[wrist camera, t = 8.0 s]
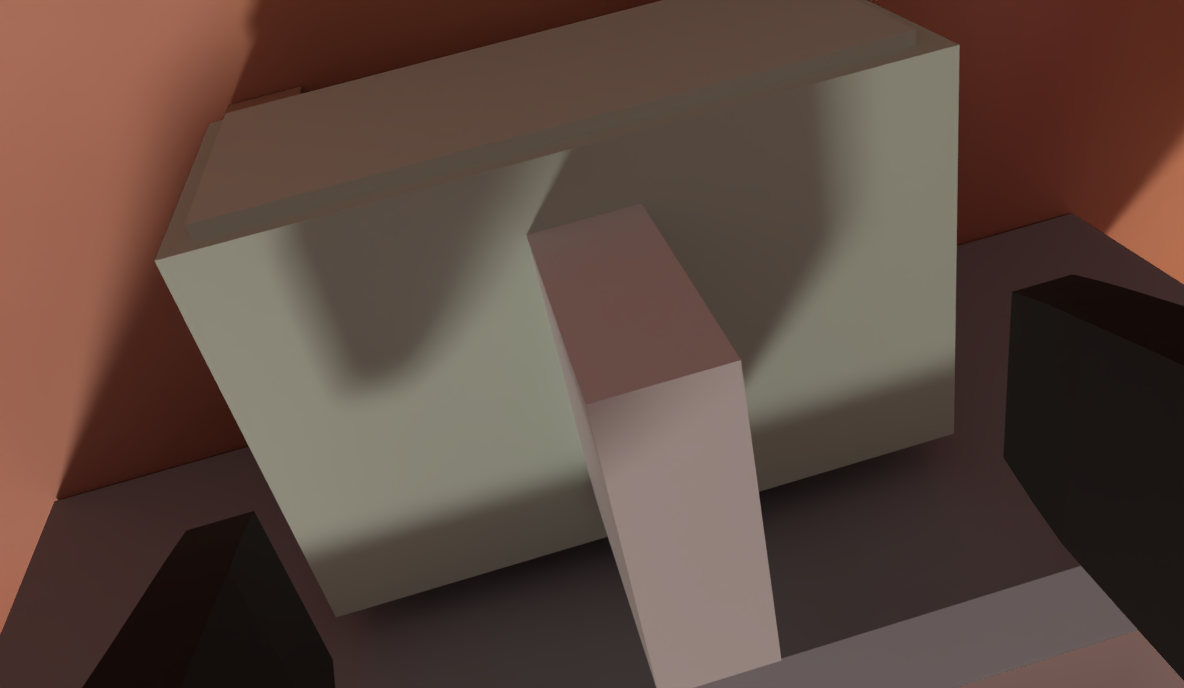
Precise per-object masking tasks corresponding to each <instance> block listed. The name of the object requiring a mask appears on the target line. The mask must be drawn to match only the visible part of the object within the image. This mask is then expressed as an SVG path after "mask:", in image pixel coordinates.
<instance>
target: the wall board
mask: <svg viewBox="0 0 1184 688" xmlns="http://www.w3.org/2000/svg"><path fill="white" fill-rule="evenodd" d="M1072 274H1073V275H1078V276H1082V277H1086V278H1090V279H1094V280H1099V281H1102V282H1106V283H1110V284H1113V285H1117V286H1120V287H1124V288H1127V289H1130V290H1134V291H1137V292H1140V293H1144V294H1147V295H1150V296H1153V297H1157V298H1160V299H1163V300H1166V301H1170V302H1173V303H1176V304H1179V305H1182V306H1184V285H1183V284H1182V283H1180V282H1179V281H1177V280H1176V279H1174V278H1173V277H1171V276H1169V275H1168V274H1166V273H1165V272H1163V271H1162V270H1160V269H1159V268H1157V267H1155V266H1154V265H1152V264H1151V263H1149V262H1148V261H1146V260H1144V259H1143V258H1141V257H1140V256H1138V255H1137V254H1135V253H1134V252H1132V251H1130V250H1129V249H1127V248H1126V247H1124V246H1123V245H1121V244H1120V243H1118V242H1116V241H1115V240H1113V239H1112V238H1110V237H1109V236H1107V235H1105V234H1104V233H1102V232H1101V231H1099V230H1098V229H1096V228H1095V227H1093V226H1091V225H1090V224H1088V223H1087V222H1085V221H1084V220H1082V219H1081V218H1079V217H1077V216H1076V215H1074V214H1073V213H1072V214H1068V215H1065V216H1061V217H1058V218H1054V219H1051V220H1047V221H1044V222H1040V223H1037V224H1033V225H1030V226H1026V227H1022V228H1019V229H1015V230H1012V231H1008V232H1005V233H1001V234H998V235H994V236H991V237H987V238H984V239H980V240H977V241H973V242H970V243H966V244H962V245H959V246H957V258H956V328H955V398H954V434H951V435H948V436H944V437H941V438H938V439H934V440H931V441H928V442H924V443H921V444H918V445H914V446H911V447H907V448H904V449H901V450H897V451H894V452H891V453H887V454H884V455H881V456H877V457H874V458H871V459H867V460H864V461H860V462H857V463H854V464H850V465H847V466H844V467H840V468H837V469H834V470H830V471H827V472H823V473H820V474H817V475H813V476H810V477H807V478H803V479H800V480H797V481H793V482H790V483H786V484H783V485H780V486H776V487H773V488H770V489H766V490H763V491H760V492H759V498H760V505H761V512H762V520H763V527H764V535H765V542H766V549H767V557H768V564H769V572H770V579H771V587H772V594H773V601H774V609H775V616H776V624H777V631H778V638H779V646H780V653H781V661H778V662H775V663H772V664H768V665H765V666H762V667H759V668H756V669H752V670H749V671H746V672H743V673H739V674H736V675H733V676H730V677H727V678H723V679H720V680H717V681H714V682H710V683H707V684H704V685H701V686H698V687H694V688H957V687H960V686H963V685H966V684H970V683H973V682H976V681H979V680H982V679H985V678H989V677H992V676H995V675H998V674H1001V673H1004V672H1008V671H1011V670H1014V669H1017V668H1020V667H1023V666H1027V665H1030V664H1033V663H1036V662H1039V661H1042V660H1045V659H1049V658H1052V657H1055V656H1058V655H1061V654H1064V653H1068V652H1071V651H1074V650H1077V649H1080V648H1083V647H1087V646H1090V645H1093V644H1096V643H1099V642H1102V641H1106V640H1109V639H1112V638H1115V637H1118V636H1121V635H1125V634H1128V633H1131V632H1134V631H1137V630H1138V629H1137V628H1136V627H1135V626H1134V625H1133V624H1132V623H1131V621H1130V620H1129V619H1128V618H1127V617H1126V616H1125V615H1124V614H1123V613H1122V611H1121V610H1120V609H1119V608H1118V607H1117V606H1116V605H1115V604H1114V602H1113V601H1112V600H1111V599H1110V598H1109V597H1108V596H1107V595H1106V593H1105V592H1104V591H1103V590H1102V589H1101V588H1100V587H1099V586H1098V584H1097V583H1096V582H1095V581H1094V580H1093V579H1092V578H1091V576H1090V575H1089V574H1088V573H1087V572H1086V571H1085V570H1084V569H1083V567H1082V566H1081V565H1080V564H1079V563H1078V562H1077V561H1076V559H1075V558H1074V557H1073V556H1072V555H1071V554H1070V552H1069V551H1068V550H1067V549H1066V548H1065V547H1064V545H1063V544H1062V543H1061V542H1060V540H1059V539H1058V538H1057V536H1056V535H1055V533H1054V532H1053V530H1052V529H1051V528H1050V526H1049V525H1048V523H1047V522H1046V521H1045V519H1044V518H1043V516H1042V515H1041V513H1040V512H1039V511H1038V509H1037V508H1036V506H1035V505H1034V504H1033V502H1032V500H1031V499H1030V497H1029V496H1028V494H1027V493H1026V491H1025V490H1024V488H1023V487H1022V485H1021V484H1020V482H1019V481H1018V479H1017V478H1016V476H1015V474H1014V473H1013V471H1012V470H1011V468H1010V467H1009V465H1008V464H1007V462H1006V461H1005V459H1004V458H1003V454H1004V435H1005V415H1006V396H1007V376H1008V357H1009V338H1010V318H1011V299H1012V292H1013V291H1016V290H1020V289H1023V288H1027V287H1030V286H1034V285H1037V284H1040V283H1044V282H1047V281H1051V280H1054V279H1058V278H1061V277H1065V276H1068V275H1072ZM252 511H254V512H255V514H256V515H257V517H258V519H259V521H260V523H261V525H262V527H263V529H264V531H265V532H266V534H267V536H268V538H269V540H270V542H271V544H272V546H273V548H274V549H275V551H276V553H277V555H278V557H279V559H280V561H281V563H282V565H283V566H284V568H285V570H286V572H287V574H288V576H289V578H290V580H291V582H292V583H293V585H294V587H295V589H296V591H297V593H298V595H299V597H300V599H301V600H302V602H303V604H304V606H305V608H306V610H307V612H308V614H309V616H310V617H311V619H312V621H313V623H314V625H315V627H316V629H317V631H318V632H319V634H320V636H321V638H322V640H323V642H324V644H325V646H326V648H327V649H328V651H329V653H330V655H331V657H332V659H333V667H334V678H335V688H656V685H655V682H654V679H653V676H652V673H651V670H650V667H649V664H648V661H647V657H646V654H645V651H644V648H643V645H642V642H641V639H640V636H639V632H638V629H637V626H636V623H635V620H634V617H633V614H632V611H631V607H630V604H629V601H628V598H627V595H626V592H625V589H624V586H623V582H622V579H621V576H620V573H619V570H618V567H617V564H616V561H615V558H614V554H613V551H612V548H611V545H610V542H609V539H608V537H605V538H602V539H598V540H595V541H591V542H588V543H585V544H581V545H578V546H575V547H571V548H568V549H565V550H561V551H558V552H554V553H551V554H548V555H544V556H541V557H538V558H534V559H531V560H528V561H524V562H521V563H517V564H514V565H511V566H507V567H504V568H501V569H497V570H494V571H491V572H487V573H484V574H481V575H477V576H474V577H470V578H467V579H464V580H460V581H457V582H454V583H450V584H447V585H444V586H440V587H437V588H433V589H430V590H427V591H423V592H420V593H417V594H413V595H410V596H407V597H403V598H400V599H396V600H393V601H390V602H386V603H383V604H380V605H376V606H373V607H370V608H366V609H363V610H359V611H356V612H353V613H349V614H346V615H343V616H339V617H335V615H334V613H333V611H332V609H331V607H330V605H329V603H328V601H327V599H326V597H325V595H324V593H323V591H322V589H321V587H320V585H319V583H318V581H317V579H316V577H315V575H314V573H313V571H312V569H311V567H310V566H309V564H308V562H307V560H306V558H305V556H304V554H303V552H302V550H301V548H300V546H299V544H298V542H297V540H296V538H295V536H294V534H293V532H292V530H291V528H290V526H289V524H288V522H287V520H286V518H285V516H284V514H283V512H282V511H281V509H280V507H279V505H278V503H277V501H276V499H275V497H274V495H273V493H272V491H271V489H270V487H269V485H268V483H267V481H266V479H265V477H264V475H263V473H262V471H261V469H260V467H259V465H258V463H257V461H256V459H255V457H254V455H253V454H252V452H251V450H250V448H249V447H245V448H242V449H238V450H235V451H231V452H228V453H224V454H221V455H217V456H214V457H210V458H207V459H203V460H200V461H196V462H192V463H189V464H185V465H182V466H178V467H175V468H171V469H168V470H164V471H161V472H157V473H154V474H150V475H147V476H143V477H139V478H136V479H132V480H129V481H125V482H122V483H118V484H115V485H111V486H108V487H104V488H101V489H97V490H94V491H90V492H86V493H83V494H79V495H76V496H72V497H69V498H65V499H62V500H58V501H55V502H54V504H53V507H52V509H51V511H50V514H49V516H48V519H47V521H46V524H45V526H44V529H43V531H42V534H41V536H40V539H39V541H38V544H37V546H36V548H35V551H34V553H33V556H32V558H31V561H30V563H29V566H28V568H27V571H26V573H25V576H24V578H23V580H22V583H21V585H20V588H19V590H18V593H17V595H16V598H15V600H14V603H13V605H12V608H11V610H10V613H9V615H8V617H7V620H6V622H5V625H4V627H3V630H2V632H1V635H0V688H82V687H83V686H84V684H85V683H86V681H87V680H88V678H89V677H90V675H91V674H92V672H93V671H94V669H95V668H96V666H97V665H98V663H99V662H100V660H101V659H102V657H103V656H104V654H105V653H106V651H107V650H108V648H109V647H110V645H111V644H112V642H113V640H114V639H115V637H116V636H117V634H118V633H119V631H120V630H121V628H122V627H123V625H124V624H125V622H126V620H127V619H128V617H129V616H130V614H131V613H132V611H133V610H134V608H135V607H136V605H137V603H138V602H139V600H140V599H141V597H142V596H143V594H144V593H145V591H146V590H147V588H148V586H149V585H150V583H151V582H152V580H153V579H154V577H155V576H156V574H157V573H158V571H159V570H160V568H161V567H162V565H163V563H164V562H165V560H166V559H167V557H168V556H169V555H170V553H171V552H172V550H173V549H174V547H175V546H176V544H177V543H178V541H179V540H180V539H181V537H182V536H183V534H184V533H185V532H186V530H189V529H193V528H196V527H200V526H203V525H207V524H210V523H214V522H217V521H221V520H224V519H227V518H231V517H234V516H238V515H241V514H245V513H248V512H252Z"/></svg>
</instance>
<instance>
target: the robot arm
mask: <svg viewBox="0 0 1184 688" xmlns="http://www.w3.org/2000/svg"><path fill="white" fill-rule="evenodd" d="M1003 458H1004V459H1005V461H1006V462H1007V464H1008V465H1009V467H1010V468H1011V470H1012V471H1013V473H1014V474H1015V476H1016V478H1017V479H1018V481H1019V482H1020V484H1021V485H1022V487H1023V488H1024V490H1025V491H1026V493H1027V494H1028V496H1029V497H1030V499H1031V500H1032V502H1033V504H1034V505H1035V506H1036V508H1037V509H1038V511H1039V512H1040V513H1041V515H1042V516H1043V518H1044V519H1045V521H1046V522H1047V523H1048V525H1049V526H1050V528H1051V529H1052V530H1053V532H1054V533H1055V535H1056V536H1057V538H1058V539H1059V540H1060V542H1061V543H1062V544H1063V545H1064V547H1065V548H1066V549H1067V550H1068V551H1069V552H1070V554H1071V555H1072V556H1073V557H1074V558H1075V559H1076V561H1077V562H1078V563H1079V564H1080V565H1081V566H1082V567H1083V569H1084V570H1085V571H1086V572H1087V573H1088V574H1089V575H1090V576H1091V578H1092V579H1093V580H1094V581H1095V582H1096V583H1097V584H1098V586H1099V587H1100V588H1101V589H1102V590H1103V591H1104V592H1105V593H1106V595H1107V596H1108V597H1109V598H1110V599H1111V600H1112V601H1113V602H1114V604H1115V605H1116V606H1117V607H1118V608H1119V609H1120V610H1121V611H1122V613H1123V614H1124V615H1125V616H1126V617H1127V618H1128V619H1129V620H1130V621H1131V623H1132V624H1133V625H1134V626H1135V627H1136V628H1137V629H1138V630H1139V631H1140V632H1141V634H1142V635H1143V636H1144V637H1145V638H1146V639H1147V640H1148V641H1149V642H1150V644H1151V645H1152V646H1153V647H1154V648H1155V649H1156V650H1157V651H1158V652H1159V653H1160V655H1161V656H1162V657H1163V658H1164V659H1165V660H1166V661H1167V662H1168V664H1169V665H1170V666H1171V667H1172V668H1173V669H1174V670H1175V671H1176V672H1177V674H1178V675H1179V676H1180V677H1181V678H1182V679H1183V680H1184V306H1182V305H1179V304H1176V303H1173V302H1170V301H1166V300H1163V299H1160V298H1157V297H1153V296H1150V295H1147V294H1144V293H1140V292H1137V291H1134V290H1130V289H1127V288H1124V287H1120V286H1117V285H1113V284H1110V283H1106V282H1102V281H1099V280H1094V279H1090V278H1086V277H1082V276H1078V275H1073V274H1072V275H1068V276H1065V277H1061V278H1058V279H1054V280H1051V281H1047V282H1044V283H1040V284H1037V285H1034V286H1030V287H1027V288H1023V289H1020V290H1016V291H1013V292H1012V299H1011V318H1010V338H1009V357H1008V376H1007V396H1006V415H1005V435H1004V454H1003ZM82 688H335V678H334V667H333V659H332V657H331V655H330V653H329V651H328V649H327V648H326V646H325V644H324V642H323V640H322V638H321V636H320V634H319V632H318V631H317V629H316V627H315V625H314V623H313V621H312V619H311V617H310V616H309V614H308V612H307V610H306V608H305V606H304V604H303V602H302V600H301V599H300V597H299V595H298V593H297V591H296V589H295V587H294V585H293V583H292V582H291V580H290V578H289V576H288V574H287V572H286V570H285V568H284V566H283V565H282V563H281V561H280V559H279V557H278V555H277V553H276V551H275V549H274V548H273V546H272V544H271V542H270V540H269V538H268V536H267V534H266V532H265V531H264V529H263V527H262V525H261V523H260V521H259V519H258V517H257V515H256V514H255V512H254V511H252V512H248V513H245V514H241V515H238V516H234V517H231V518H227V519H224V520H221V521H217V522H214V523H210V524H207V525H203V526H200V527H196V528H193V529H189V530H186V532H185V533H184V534H183V536H182V537H181V539H180V540H179V541H178V543H177V544H176V546H175V547H174V549H173V550H172V552H171V553H170V555H169V556H168V557H167V559H166V560H165V562H164V563H163V565H162V567H161V568H160V570H159V571H158V573H157V574H156V576H155V577H154V579H153V580H152V582H151V583H150V585H149V586H148V588H147V590H146V591H145V593H144V594H143V596H142V597H141V599H140V600H139V602H138V603H137V605H136V607H135V608H134V610H133V611H132V613H131V614H130V616H129V617H128V619H127V620H126V622H125V624H124V625H123V627H122V628H121V630H120V631H119V633H118V634H117V636H116V637H115V639H114V640H113V642H112V644H111V645H110V647H109V648H108V650H107V651H106V653H105V654H104V656H103V657H102V659H101V660H100V662H99V663H98V665H97V666H96V668H95V669H94V671H93V672H92V674H91V675H90V677H89V678H88V680H87V681H86V683H85V684H84V686H83V687H82Z"/></svg>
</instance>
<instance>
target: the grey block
mask: <svg viewBox="0 0 1184 688" xmlns="http://www.w3.org/2000/svg"><path fill="white" fill-rule="evenodd" d="M959 49H960V45H959V44H957V43H955V42H953V41H951V40H949V39H947V38H945V37H943V36H941V35H938V34H936V33H934V32H932V31H930V30H928V29H926V28H924V27H922V26H920V25H918V24H916V23H914V22H912V21H909V20H907V19H905V18H903V17H901V16H899V15H897V14H895V13H893V12H891V11H889V10H887V9H885V8H883V7H880V6H878V5H876V4H874V3H872V2H870V1H868V0H661V1H657V2H653V3H649V4H645V5H642V6H638V7H634V8H630V9H626V10H622V11H618V12H615V13H611V14H607V15H603V16H599V17H595V18H592V19H588V20H584V21H580V22H576V23H572V24H568V25H565V26H561V27H557V28H553V29H549V30H545V31H541V32H538V33H534V34H530V35H526V36H522V37H518V38H514V39H511V40H507V41H503V42H499V43H495V44H491V45H487V46H484V47H480V48H476V49H472V50H468V51H464V52H460V53H457V54H453V55H449V56H445V57H441V58H437V59H434V60H430V61H426V62H422V63H418V64H414V65H410V66H407V67H403V68H399V69H395V70H391V71H387V72H383V73H380V74H376V75H372V76H368V77H364V78H360V79H356V80H353V81H349V82H345V83H341V84H337V85H333V86H329V87H326V88H322V89H318V90H314V91H310V92H306V93H303V91H302V89H301V87H297V88H293V89H289V90H285V91H281V92H277V93H274V94H270V95H266V96H262V97H258V98H254V99H250V100H246V101H243V102H239V103H235V104H231V105H229V106H228V109H227V112H226V113H225V116H224V118H223V120H221V121H217V122H213V123H209V126H208V128H207V131H206V133H205V136H204V138H203V141H202V143H201V146H200V148H199V151H198V153H197V156H196V158H195V161H194V163H193V166H192V168H191V171H190V173H189V176H188V178H187V181H186V183H185V186H184V188H183V191H182V193H181V196H180V198H179V201H178V203H177V206H176V208H175V211H174V213H173V216H172V218H171V221H170V223H169V226H168V228H167V231H166V233H165V236H164V238H163V241H162V243H161V246H160V248H159V251H158V253H157V256H156V258H155V263H156V265H157V267H158V269H159V271H160V273H161V275H162V277H163V279H164V281H165V283H166V285H167V287H168V288H169V290H170V292H171V294H172V296H173V298H174V300H175V302H176V304H177V306H178V308H179V310H180V312H181V314H182V316H183V318H184V320H185V322H186V324H187V326H188V328H189V330H190V332H191V334H192V336H193V338H194V340H195V342H196V344H197V345H198V347H199V349H200V351H201V353H202V355H203V357H204V359H205V361H206V363H207V365H208V367H209V369H210V371H211V373H212V375H213V377H214V379H215V381H216V383H217V385H218V387H219V389H220V391H221V393H222V395H223V397H224V399H225V400H226V402H227V404H228V406H229V408H230V410H231V412H232V414H233V416H234V418H235V420H236V422H237V424H238V426H239V428H240V430H241V432H242V434H243V436H244V438H245V440H246V442H247V444H248V446H249V448H250V450H251V452H252V454H253V455H254V457H255V459H256V461H257V463H258V465H259V467H260V469H261V471H262V473H263V475H264V477H265V479H266V481H267V483H268V485H269V487H270V489H271V491H272V493H273V495H274V497H275V499H276V501H277V503H278V505H279V507H280V509H281V511H282V512H283V514H284V516H285V518H286V520H287V522H288V524H289V526H290V528H291V530H292V532H293V534H294V536H295V538H296V540H297V542H298V544H299V546H300V548H301V550H302V552H303V554H304V556H305V558H306V560H307V562H308V564H309V566H310V567H311V569H312V571H313V573H314V575H315V577H316V579H317V581H318V583H319V585H320V587H321V589H322V591H323V593H324V595H325V597H326V599H327V601H328V603H329V605H330V607H331V609H332V611H333V613H334V615H335V617H339V616H343V615H346V614H349V613H353V612H356V611H359V610H363V609H366V608H370V607H373V606H376V605H380V604H383V603H386V602H390V601H393V600H396V599H400V598H403V597H407V596H410V595H413V594H417V593H420V592H423V591H427V590H430V589H433V588H437V587H440V586H444V585H447V584H450V583H454V582H457V581H460V580H464V579H467V578H470V577H474V576H477V575H481V574H484V573H487V572H491V571H494V570H497V569H501V568H504V567H507V566H511V565H514V564H517V563H521V562H524V561H528V560H531V559H534V558H538V557H541V556H544V555H548V554H551V553H554V552H558V551H561V550H565V549H568V548H571V547H575V546H578V545H581V544H585V543H588V542H591V541H595V540H598V539H602V538H605V537H608V539H609V542H610V545H611V548H612V551H613V554H614V558H615V561H616V564H617V567H618V570H619V573H620V576H621V579H622V582H623V586H624V589H625V592H626V595H627V598H628V601H629V604H630V607H631V611H632V614H633V617H634V620H635V623H636V626H637V629H638V632H639V636H640V639H641V642H642V645H643V648H644V651H645V654H646V657H647V661H648V664H649V667H650V670H651V673H652V676H653V679H654V682H655V685H656V688H694V687H698V686H701V685H704V684H707V683H710V682H714V681H717V680H720V679H723V678H727V677H730V676H733V675H736V674H739V673H743V672H746V671H749V670H752V669H756V668H759V667H762V666H765V665H768V664H772V663H775V662H778V661H781V653H780V646H779V638H778V631H777V624H776V616H775V609H774V601H773V594H772V587H771V579H770V572H769V564H768V557H767V549H766V542H765V535H764V527H763V520H762V512H761V505H760V498H759V492H760V491H763V490H766V489H770V488H773V487H776V486H780V485H783V484H786V483H790V482H793V481H797V480H800V479H803V478H807V477H810V476H813V475H817V474H820V473H823V472H827V471H830V470H834V469H837V468H840V467H844V466H847V465H850V464H854V463H857V462H860V461H864V460H867V459H871V458H874V457H877V456H881V455H884V454H887V453H891V452H894V451H897V450H901V449H904V448H907V447H911V446H914V445H918V444H921V443H924V442H928V441H931V440H934V439H938V438H941V437H944V436H948V435H951V434H954V398H955V328H956V258H957V189H958V119H959Z"/></svg>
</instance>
